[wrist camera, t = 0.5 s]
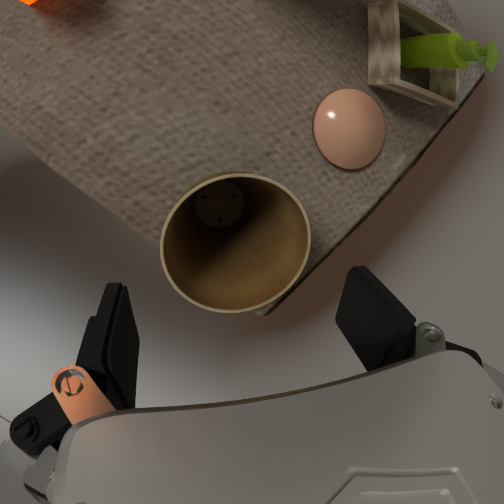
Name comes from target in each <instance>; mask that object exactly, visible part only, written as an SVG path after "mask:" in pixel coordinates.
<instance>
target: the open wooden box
mask: <svg viewBox="0 0 504 504" xmlns="http://www.w3.org/2000/svg"><path fill="white" fill-rule="evenodd" d="M367 9H368V85H370V86H374V87H377V88H381V89H384V90H388V91H391V92H394V93H397V94H401V95H404V96H407V97H410V98H412V99H415V100H418V101H421V102H424V103H426V104H429V105H431V106H439V107H446V108H452V109H458V104H459V68H429V91H428V90H426V89H424V88H421V87H419V86H416V85H414V84H411V83H408V82H406V81H403V80H400V24H399V22H401V23H403V24H405V25H407V26H409V27H411V28H413V29H415V30H417V31H419V32H421V33H423V34H425V35H429V34H438V33H449V32H455V33H457V32H456V31H455V30H454V29H452V28H451V27H449V26H448V25H446V24H445V23H443V22H441V21H440V20H438V19H437V18H435V17H433V16H432V15H430V14H428V13H427V12H425V11H423V10H421V9H420V8H418V7H416V6H414V5H412V4H410V3H409V2H407V1H405V0H376V1H374V2H371V3H369V4H367Z"/></svg>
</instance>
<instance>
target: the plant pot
mask: <svg viewBox="0 0 504 504" xmlns="http://www.w3.org/2000/svg"><path fill="white" fill-rule="evenodd" d="M233 194H235V195H234V196H233ZM203 196H205V197H206V199H205V198H203ZM220 218H221V219H222V220H221V221H220ZM310 245H311V230H310V224H309V220H308V217H307V214H306V212H305V210H304V208H303V206H302V205H301V203H300V201H299V200H298V199H297V198H296V197H295V195H294V194H293V193H292V192H291V191H289V190H288V189H287V188H286V187H284V186H283V185H281V184H280V183H278V182H276V181H274V180H272V179H269V178H267V177H264V176H260V175H256V174H251V173H245V172H221V173H216V174H213V175H210V176H207V177H205V178H203V179H201V180H200V181H198V182H196V183H195V184H194V185H193V186H191V187H190V188H189V189H188V190H187V191H186V192H185V193H184V194H183V195H182V197H181V198H180V199H179V201H178V202H177V203H176V205H175V206H174V208H173V209H172V211H171V212H170V214H169V216H168V218H167V220H166V222H165V225H164V227H163V231H162V235H161V241H160V256H161V261H162V265H163V268H164V271H165V274H166V276H167V278H168V279H169V281H170V283H171V284H172V285H173V287H174V288H175V289H176V290H177V291H178V292H179V293H180V294H181V295H182V296H183V297H184V298H186V299H187V300H188V301H190V302H191V303H193V304H195V305H197V306H199V307H202V308H204V309H207V310H211V311H215V312H222V313H237V312H244V311H249V310H253V309H256V308H259V307H261V306H264V305H266V304H268V303H270V302H272V301H273V300H275V299H276V298H278V297H279V296H281V295H282V294H283V293H284V292H285V291H287V290H288V289H289V288H290V287H291V286H292V284H293V283H294V282H295V281H296V279H297V278H298V277H299V275H300V274H301V272H302V270H303V268H304V266H305V264H306V262H307V259H308V255H309V251H310Z"/></svg>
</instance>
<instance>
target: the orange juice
mask: <svg viewBox="0 0 504 504" xmlns="http://www.w3.org/2000/svg"><path fill="white" fill-rule="evenodd" d="M20 1H22V2H24V3H26V4H28V5H30V4H32V3H33V2H35V1H36V0H20Z"/></svg>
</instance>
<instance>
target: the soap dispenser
mask: <svg viewBox="0 0 504 504" xmlns="http://www.w3.org/2000/svg"><path fill="white" fill-rule="evenodd" d="M483 56H486V58H485V60H484V63H485V65H486V67H487V68H488V70H489V72H490V73H492V72H493V70H494V68H495V67H496V64H497V61H498V56H499V50H498V48H497V46H496V45H495V43H494V41H492V40H490V43H489V45H480V44H479V43H478V42H477V41H476V40H473V39H465V40H464V39H463V38H462V37H461V36H460V35H459V34H457V33H455V32H449V33H438V34H429V35H421V36H414V37H408V38H402V39H400V65H401V66H403V67H405V68H463V69H464V68H467V67H468V65H469V63H470V61H482V59H483Z"/></svg>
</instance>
